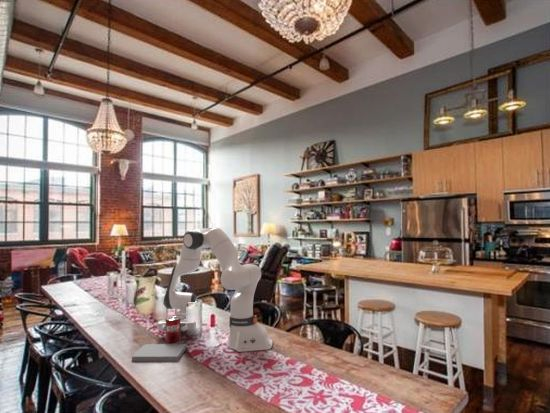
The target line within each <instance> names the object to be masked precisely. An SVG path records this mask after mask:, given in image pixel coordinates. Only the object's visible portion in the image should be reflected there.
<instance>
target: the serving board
mask: <svg viewBox="0 0 550 413" xmlns="http://www.w3.org/2000/svg"><path fill="white" fill-rule="evenodd" d="M186 350H187V344H186V343H183V344H182V343H181V344H178V343H177V344H166V343H165V344H164V343H163V344H162V343H161V344H159V343H157V344H155V343H154V344H153V343H150V344H149V343H148V344H147V343H145V344H144V345H143V346H141V347H140V348H139V349H138V350H137V351H136V352H135V353H134V354H133V355H132V356H131V362H179V360H180V358H181V357H182V356H183V355H184V352H185V351H186Z"/></svg>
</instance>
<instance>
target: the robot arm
mask: <svg viewBox="0 0 550 413" xmlns="http://www.w3.org/2000/svg"><path fill="white" fill-rule="evenodd" d="M182 241H183V243H182V245H181V250H180V258H179V262H178V263H176V264H175V265H174V266H173V268H172V270H171V273H170V276H169V281H168V284H167V288H166V291H165V295H164V297H163V305H164V307H165V309H166V310H178V312H177V313H176V314H175V315H174V316H178V317H180V319H181V324H180V332H184V331H190V330H191V331H192V330H193V331H194V330H196V329H197V327H196V322H195V321H194V322H188V321H186V304H187V303H188V302H195V301H197V302H198V298H197V296H196V294H195V293H193V292H184V291H177V290H176V288H177V284H178V280H179V278H180V277H181V276H184V275H188V274H191V273H193V272H196V270H197V269H199V267H200V263H201V256H202V255H201V253H202V250H203V249H208V248H210V250H211V251H212V253H213V255H214V257H215V258H216V260H217V261H218V263H219V265H220V269H221V275H220V284H221V286H222V287H223V288H224V289H225V290H230V291H234V294H233V295H232V297H231V299H230V315H229V321H228V322H229V326H228V327H229V333H228V340H227V343H226V346H227V347H228V348H229V349H231V350H235V351H236V352H238V353H239V352H240V353H243V352H254V351H255V352H256V351H265V350H270V349H271V348H272V347H273V339H272V338H270V337H269V334H268V331H267V329H266V328H265V327H263V326H262V325H261V324H259V323H258V318H257V315H256V314H255V315H254V308H253V307H254V296H255V292H256V289H257V285H258V283H259V281H260V280H261V278H262V271H261V268H260V267H259V266H258V265H257V264H253V263H246V264H245V263H244V264H241V263H240V261H239V258H238V257H239V250H238V249H237V247H236V246H235V244H234V243H233V241H232V240H231V239H230V238H229V236H228V235H227V233H225V231H224V230H223V229H221V228H220V227H207V228H206V227H205V228H202V227H201V228H195V229H190V230H187V231H186V232H185V233H184V234H183V238H182ZM166 319H167V318H165V319H164V318H163V319H161V320H159V321H157V323H156V329H157V330H158V331H161V332H165V324H166Z"/></svg>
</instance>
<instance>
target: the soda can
mask: <svg viewBox="0 0 550 413" xmlns="http://www.w3.org/2000/svg"><path fill="white" fill-rule="evenodd" d="M165 319H166V324H165V331H164V332H165V333H164V335H165V336H164V343H165V344H178V343H180V342H181V330H180V324H181V319H180V317H178V316H175V315H174V316H169V317H166V318H165Z"/></svg>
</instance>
